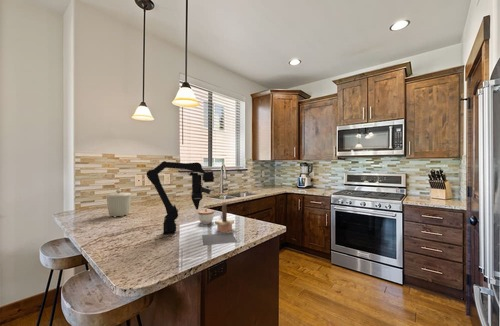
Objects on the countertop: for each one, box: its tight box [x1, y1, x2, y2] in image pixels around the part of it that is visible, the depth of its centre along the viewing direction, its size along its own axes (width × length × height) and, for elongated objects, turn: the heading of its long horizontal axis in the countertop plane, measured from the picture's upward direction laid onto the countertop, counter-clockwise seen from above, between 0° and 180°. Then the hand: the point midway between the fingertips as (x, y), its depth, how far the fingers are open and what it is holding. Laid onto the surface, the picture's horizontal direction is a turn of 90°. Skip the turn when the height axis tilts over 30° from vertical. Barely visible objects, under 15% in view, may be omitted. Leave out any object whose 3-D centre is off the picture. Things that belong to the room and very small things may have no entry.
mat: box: [201, 232, 238, 246], centre depth 117 cm, size 17×16×1 cm
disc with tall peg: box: [214, 202, 235, 226], centre depth 132 cm, size 12×12×12 cm
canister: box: [105, 189, 133, 217], centre depth 174 cm, size 18×18×21 cm
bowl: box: [216, 224, 233, 233], centre depth 132 cm, size 8×8×4 cm
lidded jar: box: [197, 208, 215, 225], centre depth 150 cm, size 11×11×9 cm
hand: (197, 208), depth 135 cm, fingers open, 9 cm apart
